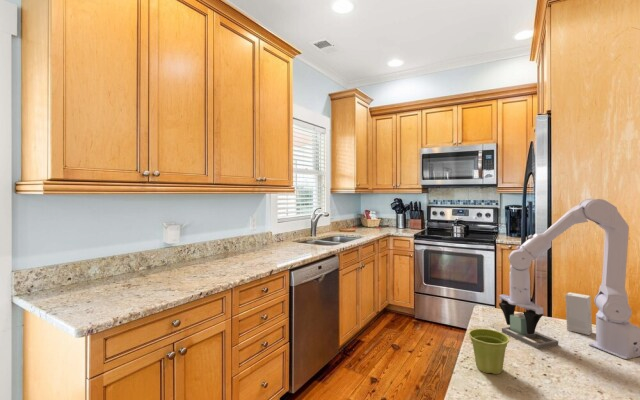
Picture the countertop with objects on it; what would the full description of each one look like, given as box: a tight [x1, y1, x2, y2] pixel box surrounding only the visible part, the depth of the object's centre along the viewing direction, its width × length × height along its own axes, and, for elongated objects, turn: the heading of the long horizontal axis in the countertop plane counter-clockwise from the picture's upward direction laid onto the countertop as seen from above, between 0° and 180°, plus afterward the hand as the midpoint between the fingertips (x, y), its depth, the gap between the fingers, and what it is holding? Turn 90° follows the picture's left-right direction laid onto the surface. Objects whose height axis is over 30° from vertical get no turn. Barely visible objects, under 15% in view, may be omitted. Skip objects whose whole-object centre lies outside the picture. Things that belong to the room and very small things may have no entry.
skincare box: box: [565, 291, 593, 336], centre depth 107 cm, size 6×4×12 cm
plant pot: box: [468, 328, 510, 375], centre depth 85 cm, size 9×9×9 cm
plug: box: [509, 312, 527, 335], centre depth 106 cm, size 4×4×7 cm
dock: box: [501, 326, 559, 350], centre depth 103 cm, size 13×8×1 cm, turn 17°
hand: (520, 328), depth 106 cm, fingers open, 7 cm apart
